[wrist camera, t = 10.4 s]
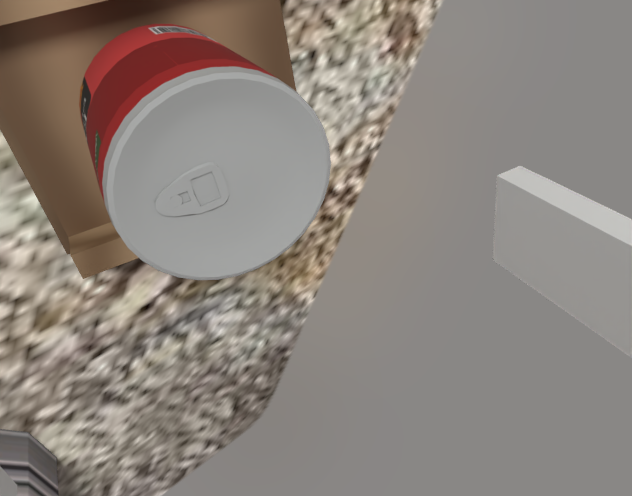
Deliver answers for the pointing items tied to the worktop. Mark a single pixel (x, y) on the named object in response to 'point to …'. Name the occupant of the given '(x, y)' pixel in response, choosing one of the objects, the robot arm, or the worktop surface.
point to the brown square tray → (64, 93)
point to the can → (28, 464)
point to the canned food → (200, 152)
